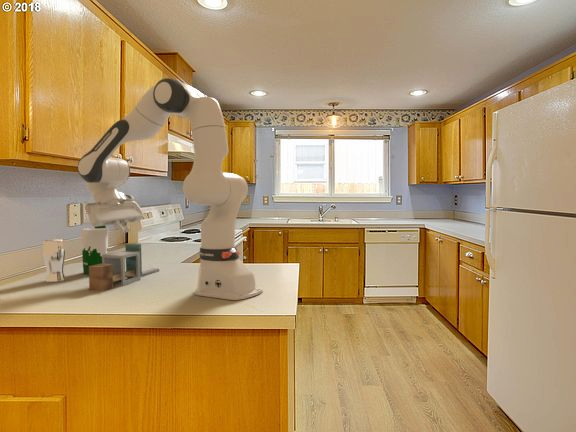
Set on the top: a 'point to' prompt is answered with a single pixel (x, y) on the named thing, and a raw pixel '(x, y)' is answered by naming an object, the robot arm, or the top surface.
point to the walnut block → (100, 277)
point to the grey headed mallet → (119, 265)
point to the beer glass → (54, 259)
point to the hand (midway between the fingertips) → (125, 231)
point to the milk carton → (94, 246)
